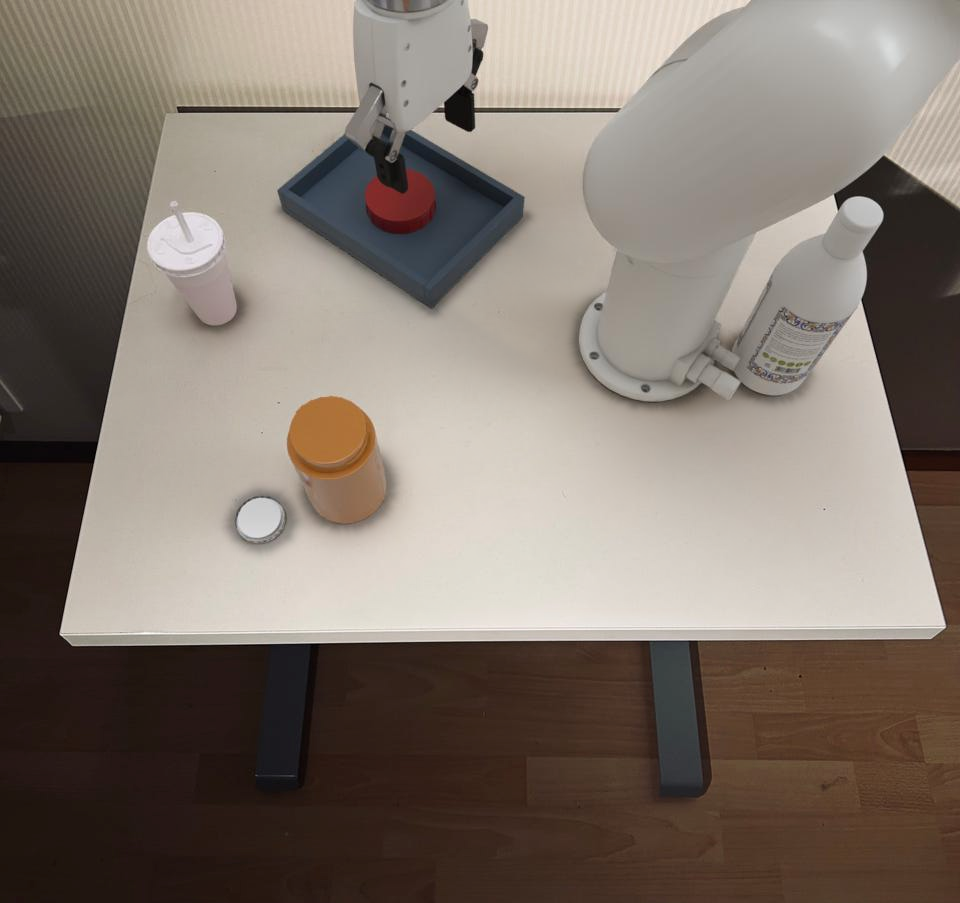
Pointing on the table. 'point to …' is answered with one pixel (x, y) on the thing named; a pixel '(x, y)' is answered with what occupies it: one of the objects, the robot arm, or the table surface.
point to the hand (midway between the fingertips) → (427, 154)
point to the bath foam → (807, 302)
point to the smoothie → (195, 263)
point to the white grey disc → (260, 519)
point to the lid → (401, 204)
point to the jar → (337, 459)
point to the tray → (413, 256)
